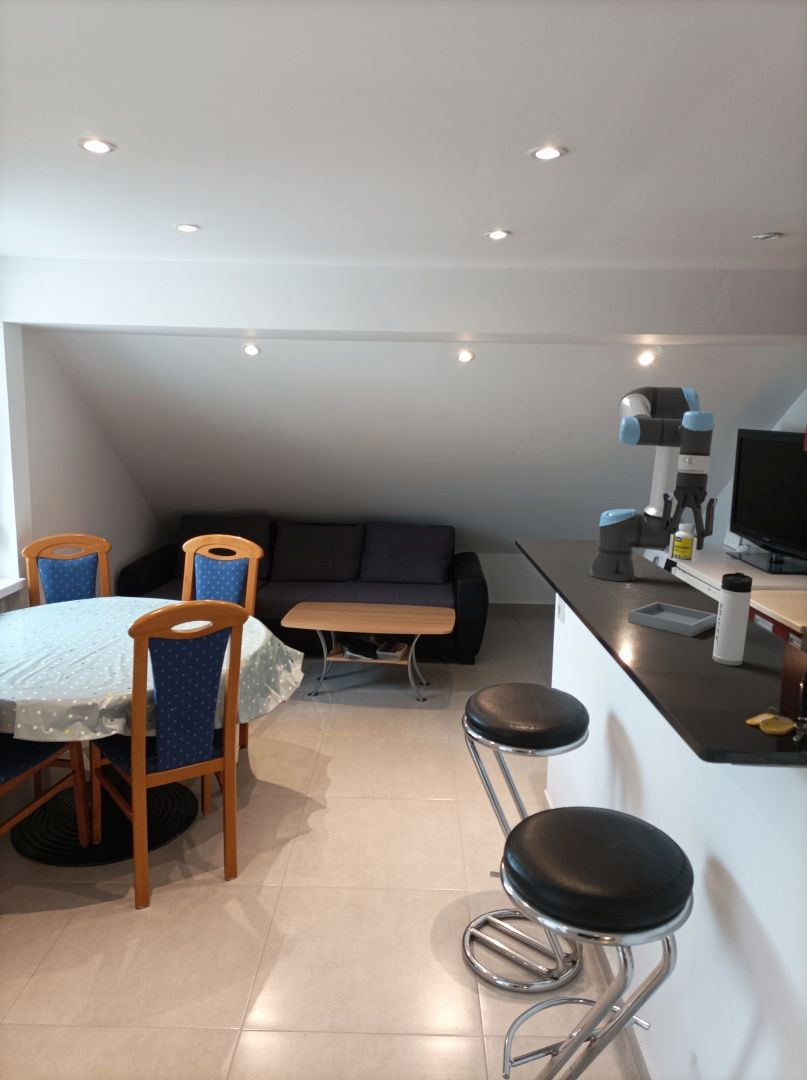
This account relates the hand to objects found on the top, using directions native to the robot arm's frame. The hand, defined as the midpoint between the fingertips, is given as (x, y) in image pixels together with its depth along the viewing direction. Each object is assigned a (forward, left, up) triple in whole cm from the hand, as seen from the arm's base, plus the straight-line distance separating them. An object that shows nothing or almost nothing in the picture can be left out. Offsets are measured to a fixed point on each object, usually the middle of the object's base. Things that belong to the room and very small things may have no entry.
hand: (682, 559), depth 197 cm
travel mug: (+23, +22, -18) cm, 36 cm away
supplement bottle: (0, 0, -1) cm, 1 cm away
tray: (+2, 0, -17) cm, 17 cm away
